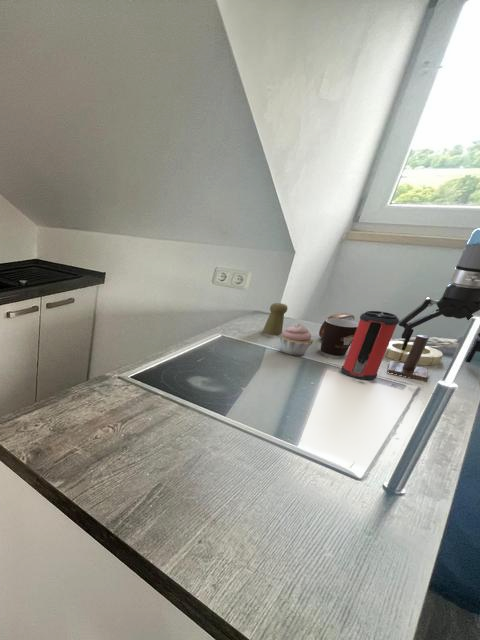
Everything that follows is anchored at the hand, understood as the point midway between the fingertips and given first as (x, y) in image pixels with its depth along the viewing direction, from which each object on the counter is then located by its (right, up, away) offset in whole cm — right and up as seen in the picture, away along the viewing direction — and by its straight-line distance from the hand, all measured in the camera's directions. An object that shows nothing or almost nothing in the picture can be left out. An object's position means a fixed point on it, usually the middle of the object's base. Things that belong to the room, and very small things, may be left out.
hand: (434, 354), depth 117 cm
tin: (-13, +6, +20) cm, 25 cm away
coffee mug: (-22, +1, +8) cm, 24 cm away
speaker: (-29, -6, -6) cm, 30 cm away
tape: (-4, 0, +4) cm, 6 cm away
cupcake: (-36, +1, +9) cm, 38 cm away
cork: (-31, +8, +26) cm, 41 cm away
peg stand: (-15, -5, -6) cm, 17 cm away
